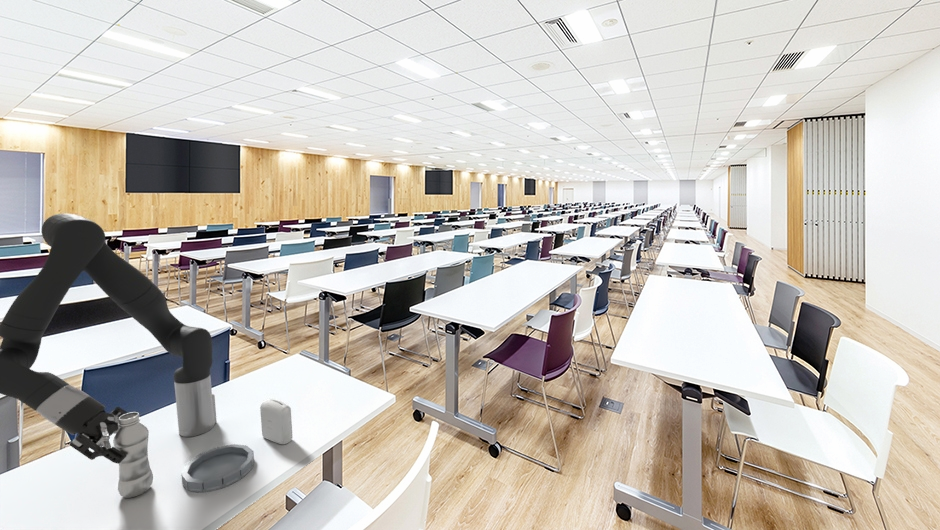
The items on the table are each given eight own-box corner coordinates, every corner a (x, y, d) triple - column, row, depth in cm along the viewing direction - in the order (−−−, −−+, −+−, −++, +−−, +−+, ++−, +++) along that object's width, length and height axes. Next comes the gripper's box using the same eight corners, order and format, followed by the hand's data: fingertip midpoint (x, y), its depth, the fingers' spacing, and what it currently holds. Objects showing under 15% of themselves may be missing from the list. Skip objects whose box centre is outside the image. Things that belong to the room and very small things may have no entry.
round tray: (215, 450, 112) (214, 442, 112) (266, 455, 111) (266, 447, 110) (166, 488, 97) (165, 479, 96) (224, 495, 95) (224, 486, 94)
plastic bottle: (111, 500, 93) (101, 422, 90) (139, 480, 99) (131, 407, 97) (134, 503, 92) (125, 424, 89) (161, 484, 98) (153, 410, 96)
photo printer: (259, 437, 119) (257, 399, 117) (272, 430, 123) (270, 393, 121) (282, 447, 114) (280, 407, 113) (294, 439, 118) (293, 401, 117)
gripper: (59, 412, 83) (127, 455, 87) (105, 384, 97) (162, 422, 101) (32, 438, 83) (102, 480, 87) (82, 406, 97) (140, 443, 101)
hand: (134, 449), depth 94 cm, fingers open, 8 cm apart
